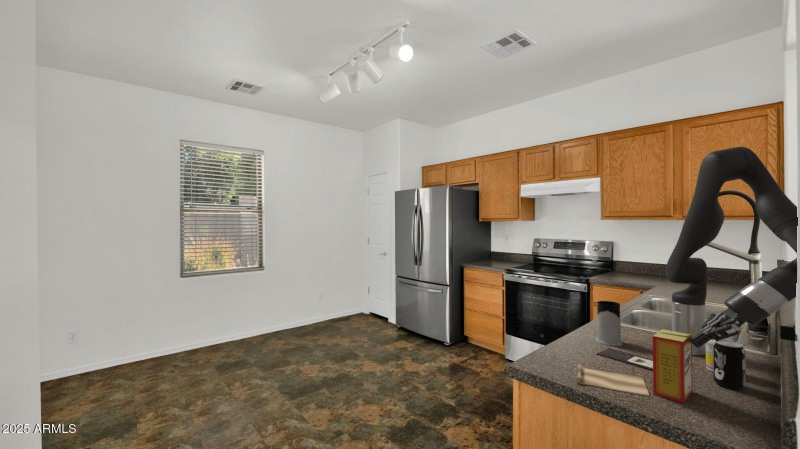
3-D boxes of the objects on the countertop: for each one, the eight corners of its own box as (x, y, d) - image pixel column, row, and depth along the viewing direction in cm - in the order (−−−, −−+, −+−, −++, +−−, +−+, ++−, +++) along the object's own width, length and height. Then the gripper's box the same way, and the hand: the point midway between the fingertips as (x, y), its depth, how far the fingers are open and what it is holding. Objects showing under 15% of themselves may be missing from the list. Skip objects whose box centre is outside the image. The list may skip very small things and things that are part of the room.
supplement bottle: (727, 368, 110) (727, 327, 110) (740, 377, 104) (739, 333, 104) (701, 365, 113) (701, 325, 113) (712, 374, 106) (711, 331, 106)
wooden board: (577, 368, 112) (577, 362, 112) (642, 378, 104) (642, 372, 104) (577, 383, 101) (577, 377, 101) (649, 396, 94) (649, 389, 94)
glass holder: (594, 342, 135) (593, 303, 135) (599, 333, 146) (599, 297, 146) (621, 347, 130) (620, 306, 130) (624, 337, 141) (624, 299, 141)
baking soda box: (683, 403, 90) (683, 340, 90) (653, 394, 95) (652, 334, 95) (692, 391, 96) (691, 332, 96) (663, 383, 101) (662, 327, 101)
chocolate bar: (609, 348, 128) (668, 363, 113) (609, 350, 128) (668, 366, 113) (596, 353, 123) (657, 370, 108) (596, 356, 123) (657, 374, 108)
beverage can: (707, 380, 102) (707, 339, 102) (728, 379, 103) (727, 338, 103) (730, 391, 96) (730, 347, 95) (752, 390, 96) (752, 346, 96)
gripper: (730, 286, 95) (674, 326, 100) (752, 295, 83) (687, 340, 88) (757, 308, 92) (698, 347, 98) (783, 321, 81) (714, 365, 86)
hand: (693, 344), depth 93 cm, fingers closed
